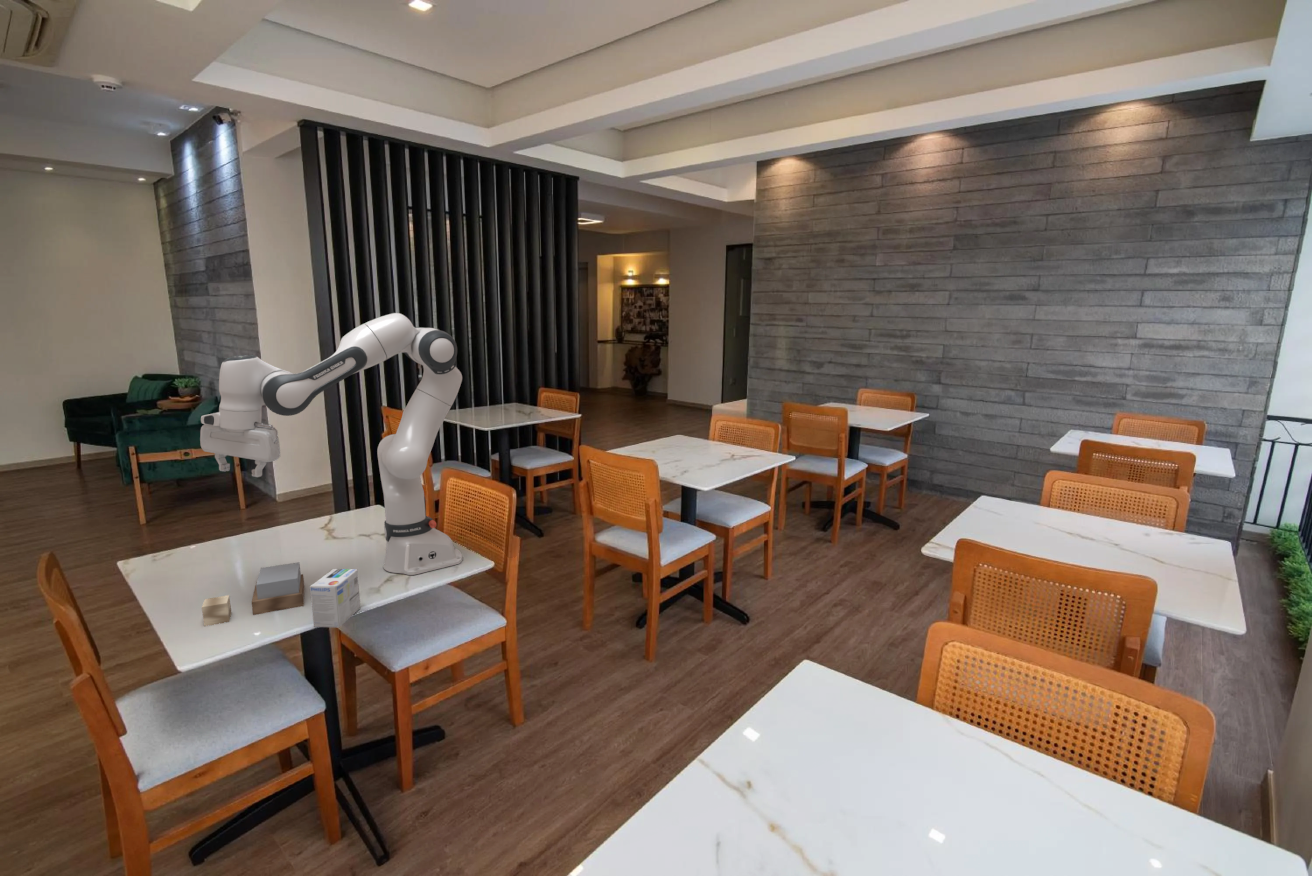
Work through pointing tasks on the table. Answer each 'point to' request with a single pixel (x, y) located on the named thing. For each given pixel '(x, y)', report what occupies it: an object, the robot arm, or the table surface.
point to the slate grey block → (278, 580)
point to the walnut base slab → (278, 601)
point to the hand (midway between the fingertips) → (240, 473)
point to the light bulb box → (335, 597)
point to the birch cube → (216, 610)
